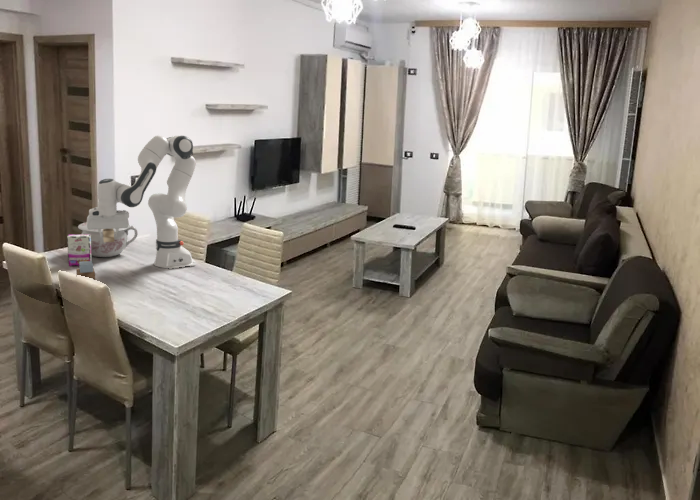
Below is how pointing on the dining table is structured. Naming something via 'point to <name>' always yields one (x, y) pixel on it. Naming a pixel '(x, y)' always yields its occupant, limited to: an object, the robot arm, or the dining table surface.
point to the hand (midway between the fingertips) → (108, 236)
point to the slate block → (86, 266)
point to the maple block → (108, 235)
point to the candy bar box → (79, 249)
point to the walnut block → (87, 274)
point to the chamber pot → (107, 248)
